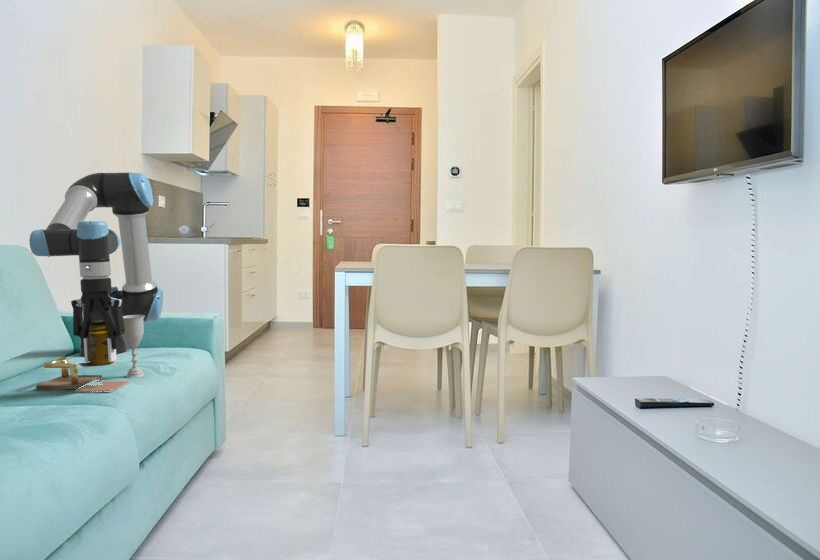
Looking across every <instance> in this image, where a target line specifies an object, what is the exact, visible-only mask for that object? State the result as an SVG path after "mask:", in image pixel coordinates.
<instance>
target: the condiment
mask: <svg viewBox="0 0 820 560" xmlns="http://www.w3.org/2000/svg"><path fill="white" fill-rule="evenodd" d="M89 326H90V327H89V329H90V330H89V332H88V341H89V356H90V361H89V362H79V363H78V365H79V366H81V367H82V368H85V369H88V368H94V367H95V368H96V367H104V366H111V365H117V364H119V362H118V361H116V360H115V361H112V362H109V359H108V343H107V338H109V337H110V335H109V333H108V330H107V327H106V325H105V322H104V320H96V321H91V322H89Z"/></svg>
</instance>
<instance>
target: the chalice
mask: <svg viewBox="0 0 820 560" xmlns="http://www.w3.org/2000/svg"><path fill="white" fill-rule="evenodd" d="M144 317H145V315H128V316H123V321H124V329H125V333H124V334H122V335H123V338H124V340H125V343H126V346H128V347H130V348H131V349H132V350H131V357H132V358H131V362H132V367H131V368H129V369H128V371H127V374H126V376H128V377H137V378H141V377H144V376H145V374H144V372H143V369H142V368H141V367H140V366H138V363H137V361H138V358H137V355H138V353H137V350H136V349H137V347H139V346H140V343H141V342H142V340H143V336H144V334H145V329H144V328H145V326H144V324H145V323H144V322H143V319H144Z"/></svg>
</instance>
